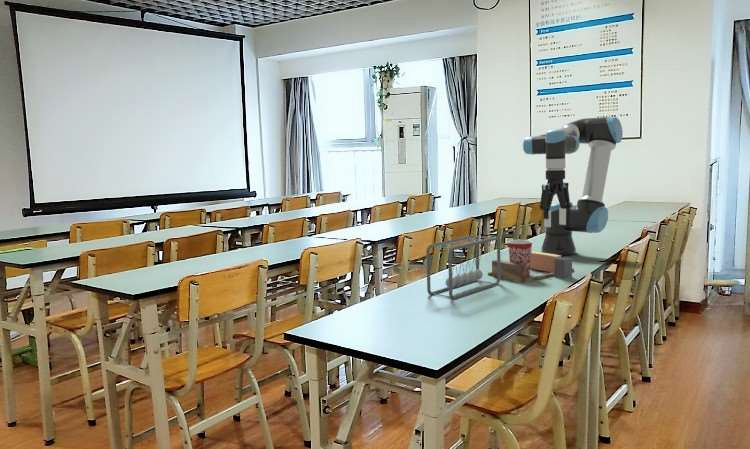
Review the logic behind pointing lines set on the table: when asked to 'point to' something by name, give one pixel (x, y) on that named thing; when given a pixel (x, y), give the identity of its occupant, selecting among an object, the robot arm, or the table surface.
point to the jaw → (543, 261)
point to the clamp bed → (514, 271)
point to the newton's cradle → (465, 277)
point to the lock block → (563, 268)
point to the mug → (521, 253)
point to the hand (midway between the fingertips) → (555, 225)
